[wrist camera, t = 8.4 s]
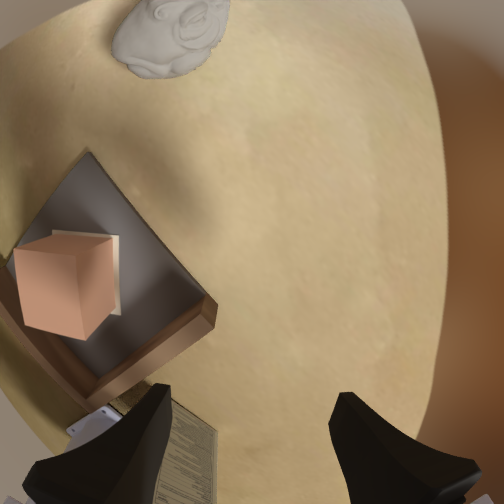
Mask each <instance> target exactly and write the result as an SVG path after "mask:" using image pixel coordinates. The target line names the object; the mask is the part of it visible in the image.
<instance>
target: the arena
mask: <svg viewBox="0 0 504 504" xmlns="http://www.w3.org/2000/svg"><path fill="white" fill-rule="evenodd" d="M54 234H64V235H77V236H91V237H104V238H113V270H114V289H115V303H116V308H115V309H114V310H113V311H112V312H111V313H110V314H109V315H108V316H107V317H106V319H105V320H104V321H103V322H102V323H101V324H100V325H99V326H98V327H97V328H96V330H95V331H94V332H93V333H92V334H91V335H90V336H89V337H88V338H87V340H86V341H85V340H80V339H76V338H71V337H67V336H63V335H59V334H55V333H51V332H48V331H44V330H40V329H37V328H33V327H30V326H26V325H25V323H24V318H23V313H22V308H21V303H20V297H19V291H18V285H17V278H16V270H15V261H14V252H13V254H12V256H11V257H10V259H9V261H8V263H7V264H6V266H4V267H2V268H0V315H1V317H2V318H3V319H4V321H5V322H6V324H7V325H8V326H9V328H10V329H11V330H12V332H13V333H14V334H15V336H16V337H17V338H18V339H19V341H20V342H21V343H22V344H23V346H24V347H25V348H26V349H27V351H28V352H29V353H30V354H31V355H32V356H33V358H34V359H35V360H36V361H37V362H38V363H39V364H40V366H41V367H42V368H43V369H44V370H45V371H46V372H47V373H48V374H49V375H50V376H51V377H52V378H53V379H54V381H55V382H56V383H57V384H58V385H59V386H60V387H61V388H62V389H63V390H64V391H65V392H66V393H68V394H69V395H70V396H71V397H72V398H73V399H74V400H75V401H76V402H77V403H78V404H79V405H80V406H81V407H83V408H84V409H85V410H86V411H87V412H88V413H89V414H92V413H93V412H95V411H97V410H98V409H100V408H101V407H103V406H104V405H106V404H107V403H109V402H110V401H112V400H113V399H115V398H116V397H118V396H119V395H121V394H122V393H124V392H125V391H127V390H128V389H130V388H131V387H133V386H134V385H135V384H137V383H138V382H140V381H141V380H143V379H144V378H146V377H147V376H149V375H150V374H151V373H153V372H154V371H156V370H157V369H159V368H160V367H161V366H163V365H164V364H166V363H167V362H169V361H170V360H171V359H173V358H174V357H176V356H177V355H178V354H180V353H181V352H183V351H184V350H185V349H187V348H188V347H190V346H191V345H192V344H194V343H195V342H197V341H198V340H199V339H201V338H202V337H203V336H205V335H206V334H207V333H209V332H210V331H212V330H213V329H214V328H215V321H216V315H217V309H218V304H217V303H216V302H215V301H214V300H213V299H212V298H211V296H210V295H209V294H208V293H207V292H206V291H205V290H204V289H203V288H202V287H201V286H200V284H199V283H198V282H197V281H196V280H195V279H194V278H193V277H192V276H191V274H190V273H189V272H188V271H187V270H186V269H185V268H184V266H183V265H182V264H181V263H180V262H179V261H178V260H177V258H176V257H175V256H174V255H173V254H172V253H171V252H170V250H169V249H168V248H167V247H166V246H165V245H164V243H163V242H162V241H161V240H160V239H159V237H158V236H157V235H156V234H155V233H154V232H153V230H152V229H151V228H150V227H149V226H148V224H147V223H146V222H145V221H144V219H143V218H142V217H141V216H140V215H139V213H138V212H137V211H136V210H135V208H134V207H133V206H132V205H131V203H130V202H129V201H128V200H127V198H126V197H125V196H124V195H123V193H122V192H121V191H120V190H119V188H118V187H117V186H116V184H115V183H114V182H113V181H112V179H111V178H110V177H109V175H108V174H107V173H106V172H105V170H104V169H103V168H102V166H101V165H100V164H99V162H98V161H97V160H96V158H95V157H94V156H93V154H92V153H91V152H87V153H86V154H85V155H84V156H83V157H82V159H81V160H80V161H79V162H78V163H77V164H76V165H75V167H74V168H73V169H72V170H71V171H70V173H69V174H68V175H67V176H66V177H65V179H64V180H63V181H62V182H61V184H60V185H59V186H58V188H57V189H56V190H55V191H54V193H53V194H52V195H51V197H50V198H49V199H48V201H47V202H46V203H45V205H44V206H43V208H42V209H41V210H40V212H39V213H38V215H37V216H36V218H35V219H34V221H33V222H32V224H31V225H30V227H29V228H28V230H27V231H26V233H25V234H24V236H23V237H22V239H21V241H20V242H19V244H18V246H17V247H19V246H22V245H25V244H27V243H30V242H33V241H36V240H39V239H42V238H45V237H48V236H51V235H54Z"/></svg>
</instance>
